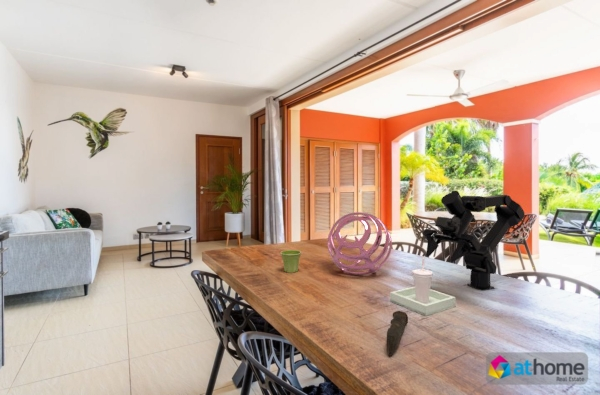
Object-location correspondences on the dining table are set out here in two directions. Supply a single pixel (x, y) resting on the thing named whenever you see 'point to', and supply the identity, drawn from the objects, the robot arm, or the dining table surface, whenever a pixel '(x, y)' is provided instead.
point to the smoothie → (422, 283)
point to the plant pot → (291, 260)
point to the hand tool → (395, 331)
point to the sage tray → (434, 305)
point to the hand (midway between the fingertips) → (438, 258)
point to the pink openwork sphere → (358, 244)
